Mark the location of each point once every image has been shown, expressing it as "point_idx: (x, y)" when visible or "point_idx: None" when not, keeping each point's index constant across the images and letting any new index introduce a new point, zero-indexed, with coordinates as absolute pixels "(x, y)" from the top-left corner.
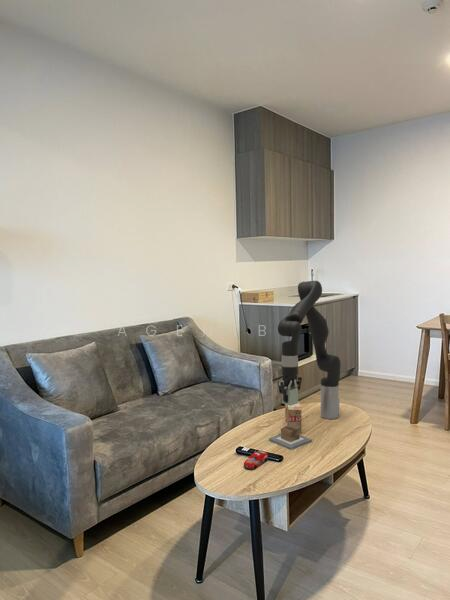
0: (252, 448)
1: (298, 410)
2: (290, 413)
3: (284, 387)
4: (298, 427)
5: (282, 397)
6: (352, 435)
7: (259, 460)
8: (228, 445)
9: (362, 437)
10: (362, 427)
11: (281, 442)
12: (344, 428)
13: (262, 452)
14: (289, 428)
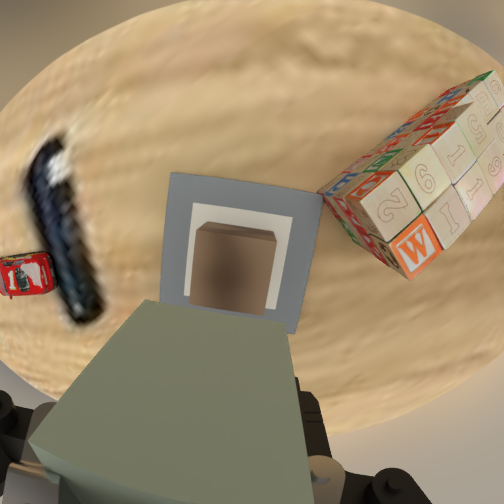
0: (74, 182)
1: (396, 262)
2: (357, 209)
3: (29, 500)
4: (355, 236)
5: (114, 337)
6: (419, 384)
7: (15, 295)
8: (49, 103)
9: (414, 407)
10: (481, 363)
11: (172, 251)
12: (463, 336)
13: (33, 278)
14: (225, 273)
